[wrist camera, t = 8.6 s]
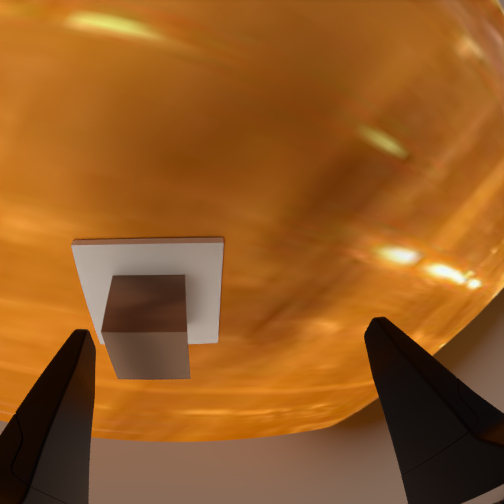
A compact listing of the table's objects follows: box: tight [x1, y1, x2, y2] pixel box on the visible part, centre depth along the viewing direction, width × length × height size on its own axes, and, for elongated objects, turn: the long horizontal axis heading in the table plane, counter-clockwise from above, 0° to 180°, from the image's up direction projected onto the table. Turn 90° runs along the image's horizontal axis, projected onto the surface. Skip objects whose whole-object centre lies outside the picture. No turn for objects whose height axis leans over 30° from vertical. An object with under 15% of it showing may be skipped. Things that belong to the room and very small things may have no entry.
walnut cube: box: [101, 274, 190, 380], centre depth 20 cm, size 5×5×5 cm
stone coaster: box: [71, 237, 224, 344], centre depth 23 cm, size 10×10×1 cm
